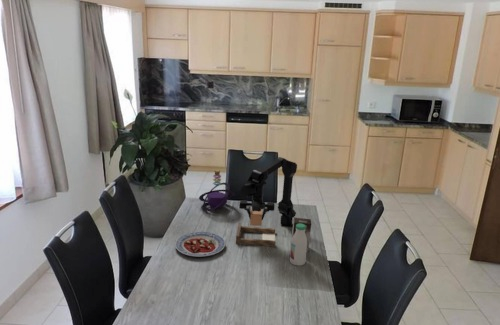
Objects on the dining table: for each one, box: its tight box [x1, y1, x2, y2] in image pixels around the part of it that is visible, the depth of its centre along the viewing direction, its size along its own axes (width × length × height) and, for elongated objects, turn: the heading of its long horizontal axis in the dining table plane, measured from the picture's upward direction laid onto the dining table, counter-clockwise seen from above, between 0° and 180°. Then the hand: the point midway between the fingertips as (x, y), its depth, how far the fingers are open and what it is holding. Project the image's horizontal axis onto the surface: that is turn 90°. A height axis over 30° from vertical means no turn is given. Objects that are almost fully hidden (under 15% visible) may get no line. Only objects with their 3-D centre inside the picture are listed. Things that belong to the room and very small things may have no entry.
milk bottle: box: [289, 223, 307, 267], centre depth 186 cm, size 8×8×20 cm
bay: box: [235, 222, 276, 247], centre depth 211 cm, size 21×16×4 cm
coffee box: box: [290, 216, 312, 253], centre depth 200 cm, size 9×6×16 cm
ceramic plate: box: [174, 231, 226, 258], centre depth 199 cm, size 26×26×3 cm
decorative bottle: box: [198, 169, 235, 212], centre depth 245 cm, size 22×21×25 cm
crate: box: [249, 208, 263, 227], centre depth 208 cm, size 6×8×6 cm
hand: (256, 219), depth 208 cm, fingers closed on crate, 6 cm apart
